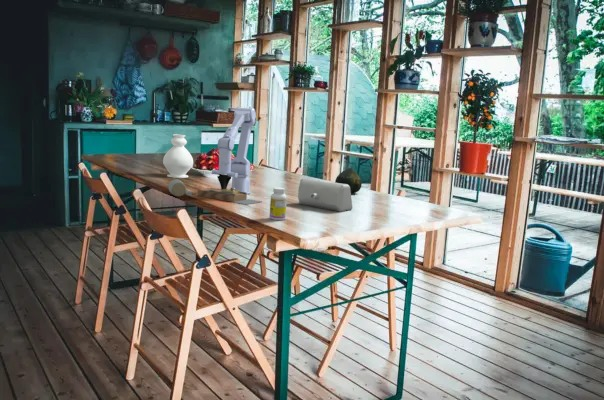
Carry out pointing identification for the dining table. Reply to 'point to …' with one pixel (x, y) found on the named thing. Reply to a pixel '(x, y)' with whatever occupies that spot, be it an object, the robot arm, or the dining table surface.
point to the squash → (350, 179)
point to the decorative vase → (178, 158)
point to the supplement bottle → (278, 204)
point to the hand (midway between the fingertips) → (223, 190)
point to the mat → (247, 201)
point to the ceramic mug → (178, 188)
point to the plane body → (221, 195)
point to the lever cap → (231, 191)
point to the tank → (325, 195)
